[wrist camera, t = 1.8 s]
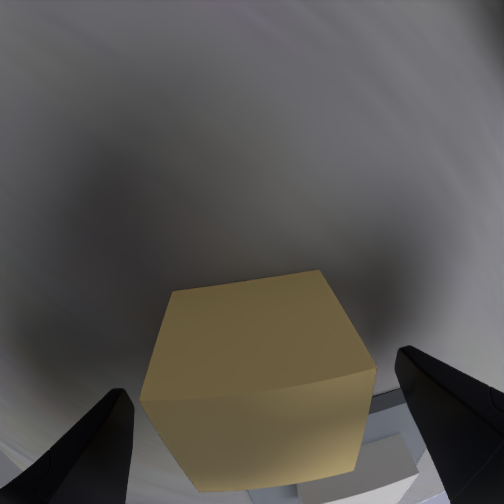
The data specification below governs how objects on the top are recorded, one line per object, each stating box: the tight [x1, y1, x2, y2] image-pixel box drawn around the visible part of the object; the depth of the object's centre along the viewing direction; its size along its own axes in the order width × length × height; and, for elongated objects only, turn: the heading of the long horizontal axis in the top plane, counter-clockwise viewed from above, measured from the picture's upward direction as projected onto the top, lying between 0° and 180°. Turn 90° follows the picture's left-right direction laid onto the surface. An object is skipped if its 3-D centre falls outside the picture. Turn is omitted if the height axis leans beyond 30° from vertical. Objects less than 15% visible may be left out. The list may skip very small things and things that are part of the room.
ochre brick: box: [139, 270, 377, 492], centre depth 9 cm, size 5×5×5 cm
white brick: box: [297, 433, 419, 504], centre depth 13 cm, size 6×6×3 cm
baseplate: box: [248, 389, 427, 504], centre depth 15 cm, size 12×12×1 cm
